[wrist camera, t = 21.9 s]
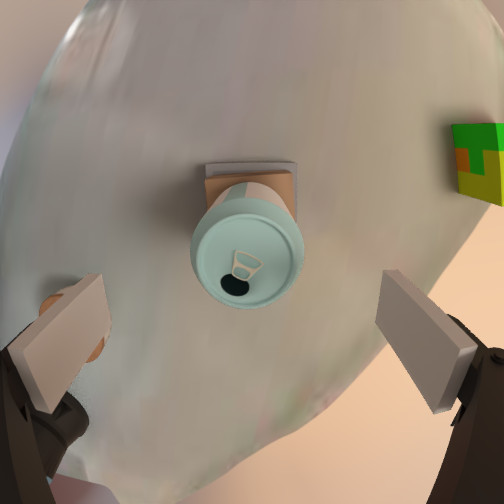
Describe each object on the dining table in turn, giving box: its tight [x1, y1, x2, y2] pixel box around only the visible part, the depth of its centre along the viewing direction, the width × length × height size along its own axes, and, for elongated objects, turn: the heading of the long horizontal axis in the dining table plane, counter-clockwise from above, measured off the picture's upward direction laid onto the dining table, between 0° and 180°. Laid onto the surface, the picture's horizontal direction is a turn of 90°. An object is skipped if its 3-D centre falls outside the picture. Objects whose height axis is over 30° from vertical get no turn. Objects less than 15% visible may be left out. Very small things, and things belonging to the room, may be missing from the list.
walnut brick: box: [204, 170, 295, 221], centre depth 32 cm, size 8×8×6 cm
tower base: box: [205, 162, 297, 223], centre depth 37 cm, size 10×10×4 cm
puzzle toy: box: [452, 123, 504, 206], centre depth 31 cm, size 10×10×10 cm
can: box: [190, 182, 304, 309], centre depth 23 cm, size 7×7×12 cm
